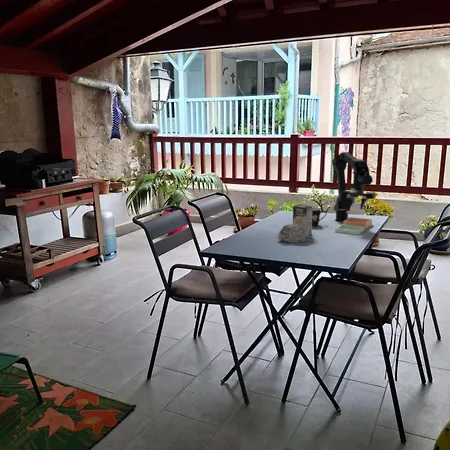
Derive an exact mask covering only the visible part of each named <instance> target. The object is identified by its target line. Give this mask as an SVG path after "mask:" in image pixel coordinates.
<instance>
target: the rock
mask: <svg viewBox="0 0 450 450" xmlns="http://www.w3.org/2000/svg"><path fill="white" fill-rule="evenodd" d="M307 228H308V227H307V226H301V225H294V224H293V223H292V224H289V223H287V224H285V225H283V226H282V228H281V229H280V231H278V233H277V239H278V240H279V241H281V242H287V243H300V244H301V243H303V242H305V240H306V237H305V236H306V230H307Z"/></svg>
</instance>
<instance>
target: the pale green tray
mask: <svg viewBox="0 0 450 450" xmlns="http://www.w3.org/2000/svg"><path fill="white" fill-rule="evenodd" d="M365 230H366V229H365V227H364V226H355V225H345V224H344V223H342V224H340V225H339V226H336V227H335V229H334V232H335V233H340V234H350V235H360V234H361V233H363V232H364V231H365Z"/></svg>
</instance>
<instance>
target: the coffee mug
mask: <svg viewBox="0 0 450 450" xmlns="http://www.w3.org/2000/svg"><path fill="white" fill-rule="evenodd" d="M322 212H324V213H325V215H324V216H323V217H321V214H322ZM326 216H327V211H326V210H321V208H320V207H313V208H312V228H313V227H318V226H320V225H319V224H320V223H319V222H320V221H321V220H323V219H324V218H326ZM320 217H321V218H320Z"/></svg>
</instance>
